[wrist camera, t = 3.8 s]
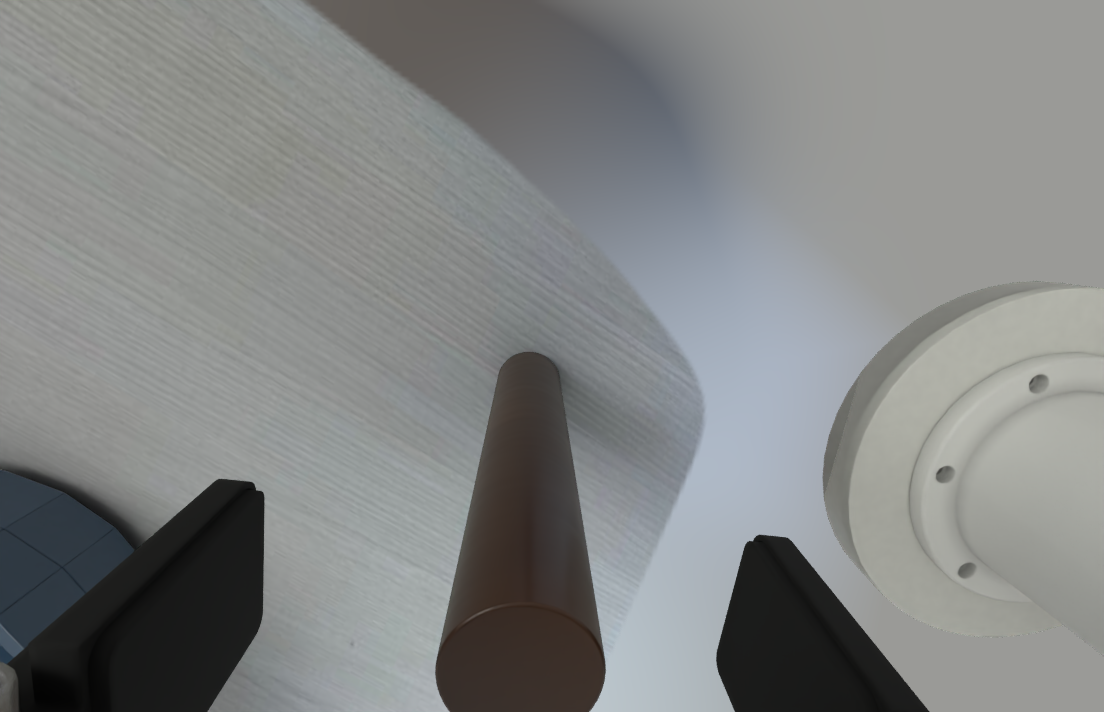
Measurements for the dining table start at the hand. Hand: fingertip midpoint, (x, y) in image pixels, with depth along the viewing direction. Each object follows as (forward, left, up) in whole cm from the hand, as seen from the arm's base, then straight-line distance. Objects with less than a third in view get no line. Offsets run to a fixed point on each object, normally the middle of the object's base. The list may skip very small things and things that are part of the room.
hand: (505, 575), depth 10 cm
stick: (0, 0, -13) cm, 13 cm away
